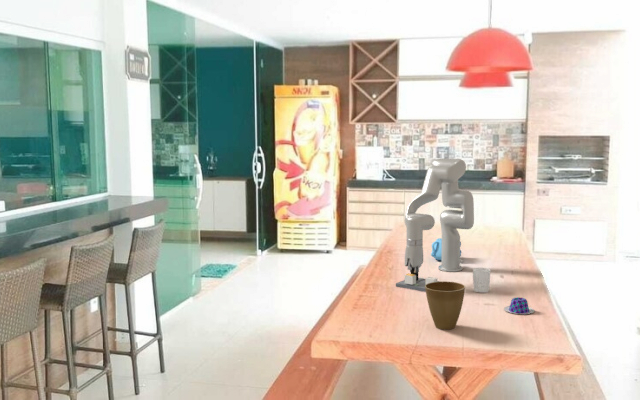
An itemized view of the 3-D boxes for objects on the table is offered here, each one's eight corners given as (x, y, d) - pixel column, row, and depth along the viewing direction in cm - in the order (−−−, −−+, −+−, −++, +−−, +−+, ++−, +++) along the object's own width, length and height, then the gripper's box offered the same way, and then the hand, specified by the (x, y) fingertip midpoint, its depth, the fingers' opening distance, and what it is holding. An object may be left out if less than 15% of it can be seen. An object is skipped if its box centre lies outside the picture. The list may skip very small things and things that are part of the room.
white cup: (477, 293, 287) (478, 272, 285) (469, 289, 294) (469, 268, 293) (493, 292, 289) (493, 270, 287) (484, 288, 296) (484, 267, 295)
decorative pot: (464, 258, 360) (465, 235, 359) (455, 264, 346) (456, 239, 345) (437, 256, 368) (437, 233, 367) (427, 261, 355) (427, 237, 353)
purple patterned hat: (517, 305, 269) (517, 293, 268) (540, 312, 259) (541, 300, 258) (497, 310, 262) (498, 298, 262) (521, 317, 252) (521, 304, 252)
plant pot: (458, 320, 249) (459, 280, 247) (469, 332, 234) (469, 290, 232) (421, 321, 248) (421, 281, 246) (429, 333, 234) (429, 291, 232)
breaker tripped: (408, 282, 301) (408, 273, 301) (415, 283, 298) (416, 274, 298) (404, 283, 299) (404, 274, 298) (412, 284, 296) (412, 275, 296)
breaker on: (428, 285, 295) (428, 276, 294) (437, 286, 292) (437, 278, 291) (425, 286, 292) (425, 278, 292) (433, 288, 289) (434, 279, 289)
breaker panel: (413, 279, 313) (413, 276, 313) (457, 287, 298) (457, 283, 298) (395, 286, 301) (395, 282, 301) (440, 294, 286) (440, 291, 286)
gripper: (416, 239, 307) (416, 276, 309) (399, 244, 296) (399, 282, 298) (429, 240, 302) (429, 278, 305) (413, 246, 291) (413, 284, 293)
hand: (414, 280), depth 301 cm, fingers closed
